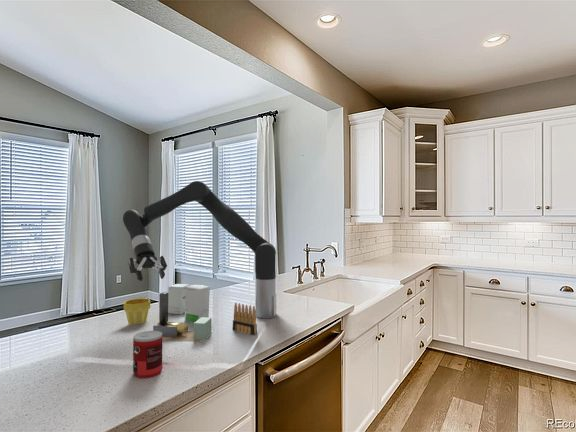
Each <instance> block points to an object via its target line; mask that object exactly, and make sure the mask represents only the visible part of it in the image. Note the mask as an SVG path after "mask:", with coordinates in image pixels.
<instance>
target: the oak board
mask: <svg viewBox="0 0 576 432" xmlns="http://www.w3.org/2000/svg"><path fill="white" fill-rule="evenodd" d="M211 334H213V331H211ZM162 341H179V342H183V341H184V342H196V343H203V342H204V341H205V340H194V330H188V331H187V333H182V334H181V335H179V336H178V337H177V338H170V337H162Z"/></svg>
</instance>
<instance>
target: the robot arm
mask: <svg viewBox="0 0 576 432" xmlns="http://www.w3.org/2000/svg"><path fill="white" fill-rule="evenodd" d="M192 202H196V203H198V204H199V205H201V206H202V207H204V208H205V209H206V210H207V211H208V212H209V213H210V214H211V215H212V216H213V217H214V219H215V220H216V222H217V223H218V224H219V225H220V226H221V227H222V228H223V229H224V230H225V231H226V232H228V234H230V235H232V237H234V238H236V239H238V240H239V241H240V242H242V243H243V244H245V245H246V246H247V247H248V248H249V249H250V250H251V251H252V252H253V253H254V254H255V256H254V262H255V263H254V265H255V266H254V271H255V272H254V273H255V305H254V306H255V313H256V318H260V319H270V318H272V319H274V318H276V315H277V293H276V292H277V291H276V290H277V289H276V287H277V286H276V285H277V283H276V278H277V274H276V273H277V271H276V269H277V268H276V267H277V266H276V264H277V263H276V262H277V261H276V260H277V258H276V257H277V256H276V255H277V250H276V248H275V246H274V245H273V244H272V243H270V242H269V241H267V240H266V239H265V238H264V237H262V236H261V235H260V234H258V233H257V232H256V231H255V229H254V228H253V227H252V226H251V225H250V224H249V223H248V222H247V221H246V220H245V219H244V218H243V217H242V216H241V215H240V214H239V213H238V212H236V210H234V209H233V208H231V207H230V205H228V204H226V203H225V202H223V201H222V200H221V199H220V198H219V197H218V196H216V194H215V193H214V192H213V191H212V190H211V189H210V187H209V186H208V185H207V184H206V183H205V182H203V181H202V180H201V181H200V180H194V181H192V182H190V183H189V184H187V185H185V186H184V187H182V188H180V189H179V190H178V191H176V192H174V193H172V194H171V195H168V196H166V197H164V198H162V199H160V200H156V201H155V202H153V203H150V204H148V205H146V206H145V207H144V208H143V213H144V214H142V215H141V214H140V213H139V211H137V210H135V209H128V210H126V211H125V212H124V213H123V215H122V222H123V225H124V227H125V228H126V230H127V232H128V234H129V237H130V241H131V246H132V251H133V253H134V257H135V258H133V257H130V258H129V260H128V266H129V272H130V274H136V275H135V276H136V279H137V280H138V281H139V282H142V281H143V279H144V278H143V274H142V269H154V270H157V271H158V273H159V276H160V279H161V280H163V279H164V278H165V276H166V272H165V271H166V269H167V267H168V265H167V262H166V259H165V257H164V255H161V256H159V257H157V255H155V250H154V248H153V244H152V242H151V241H152V240H151V239H150V237H149V234H148V231H147V229H146V227H147V226H149V225H150V224H151V223H152V222H153V221H155V220H157V219H159V218H162V217H165V215H168V214H169V213H171V212H172V211H174V210H175V209H177V208H179V207H181V206H183V205H185V204H188V203H192ZM135 264H137V265H138V266H137V268H136V267H135Z"/></svg>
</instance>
